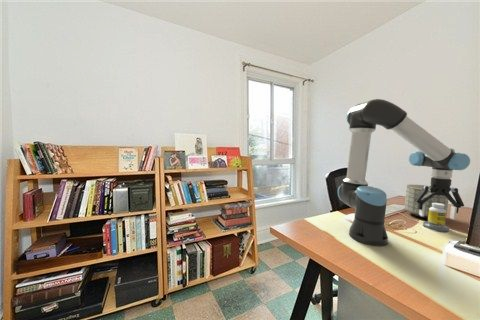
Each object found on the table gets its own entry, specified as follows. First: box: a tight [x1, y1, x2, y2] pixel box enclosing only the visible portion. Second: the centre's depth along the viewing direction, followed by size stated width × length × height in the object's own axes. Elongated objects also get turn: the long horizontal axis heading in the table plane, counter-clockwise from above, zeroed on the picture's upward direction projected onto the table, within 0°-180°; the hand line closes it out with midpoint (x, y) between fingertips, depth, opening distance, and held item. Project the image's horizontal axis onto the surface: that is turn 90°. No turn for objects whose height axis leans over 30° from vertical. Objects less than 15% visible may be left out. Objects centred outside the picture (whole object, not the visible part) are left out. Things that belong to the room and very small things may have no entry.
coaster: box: [422, 220, 451, 233], centre depth 105 cm, size 10×10×2 cm
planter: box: [404, 184, 449, 220], centre depth 121 cm, size 19×19×18 cm
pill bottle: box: [427, 203, 447, 227], centre depth 104 cm, size 6×6×12 cm
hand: (436, 217), depth 104 cm, fingers open, 13 cm apart
